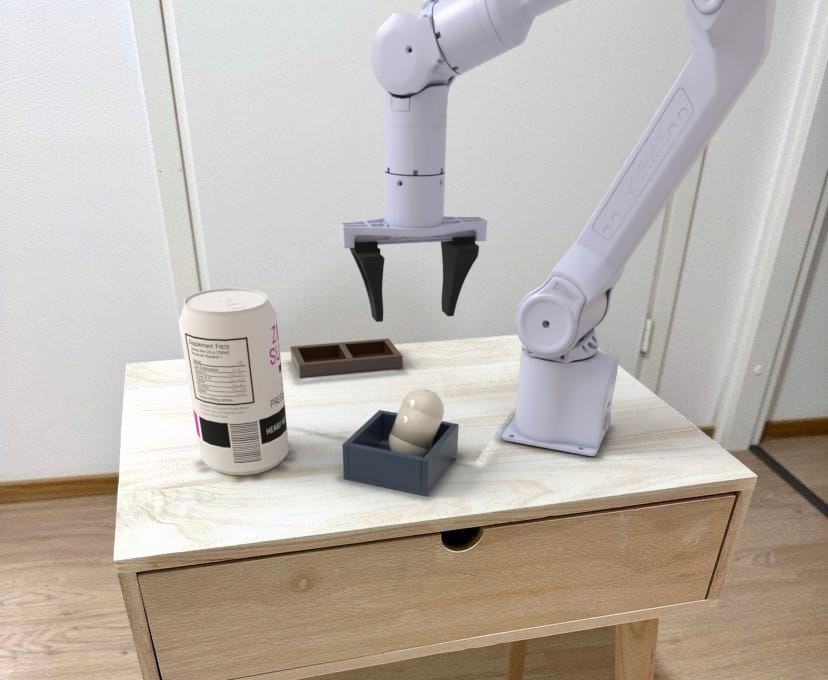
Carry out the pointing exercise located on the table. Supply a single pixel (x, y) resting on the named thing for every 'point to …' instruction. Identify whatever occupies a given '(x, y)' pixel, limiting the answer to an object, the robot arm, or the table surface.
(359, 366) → the tray
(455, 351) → the table surface
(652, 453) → the table surface
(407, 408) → the cream capsule
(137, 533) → the table surface
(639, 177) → the robot arm
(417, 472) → the bin
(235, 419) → the supplement can
